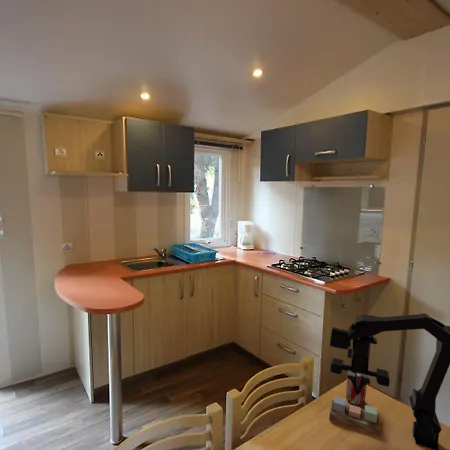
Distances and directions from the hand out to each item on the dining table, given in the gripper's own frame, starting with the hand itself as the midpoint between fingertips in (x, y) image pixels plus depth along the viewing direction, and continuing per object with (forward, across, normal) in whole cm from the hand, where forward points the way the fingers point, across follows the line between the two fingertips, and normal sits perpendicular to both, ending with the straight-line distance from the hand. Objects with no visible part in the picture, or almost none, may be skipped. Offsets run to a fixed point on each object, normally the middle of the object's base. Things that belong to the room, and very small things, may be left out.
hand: (357, 394), depth 112 cm
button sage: (+8, -5, 0) cm, 9 cm away
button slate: (+8, +6, 0) cm, 9 cm away
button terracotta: (+9, 0, 0) cm, 9 cm away
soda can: (+10, 0, -12) cm, 16 cm away
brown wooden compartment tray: (+10, 0, 0) cm, 10 cm away
